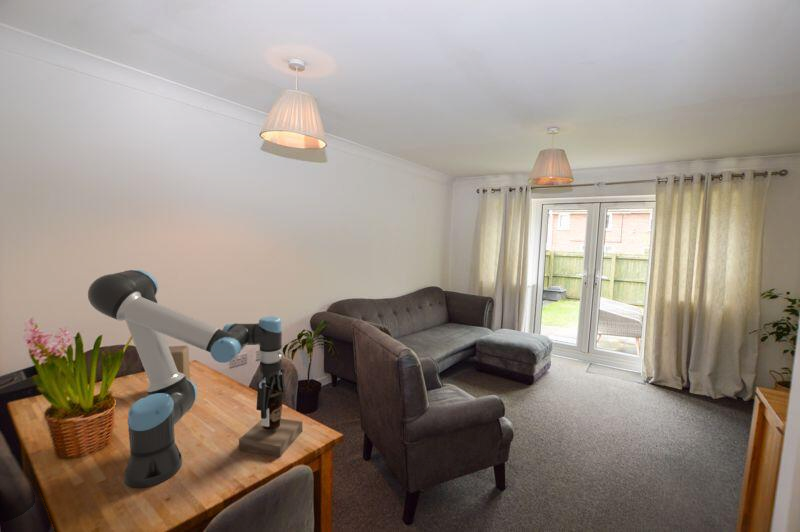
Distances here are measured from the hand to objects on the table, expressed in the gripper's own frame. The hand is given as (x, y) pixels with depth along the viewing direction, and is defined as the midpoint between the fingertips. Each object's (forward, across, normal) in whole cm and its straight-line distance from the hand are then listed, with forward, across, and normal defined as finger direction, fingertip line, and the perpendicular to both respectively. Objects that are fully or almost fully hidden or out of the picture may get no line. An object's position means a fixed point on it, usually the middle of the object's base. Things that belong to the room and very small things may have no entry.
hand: (271, 419), depth 130 cm
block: (+8, +25, +67) cm, 72 cm away
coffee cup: (+3, 0, 0) cm, 3 cm away
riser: (+8, 0, 0) cm, 8 cm away
